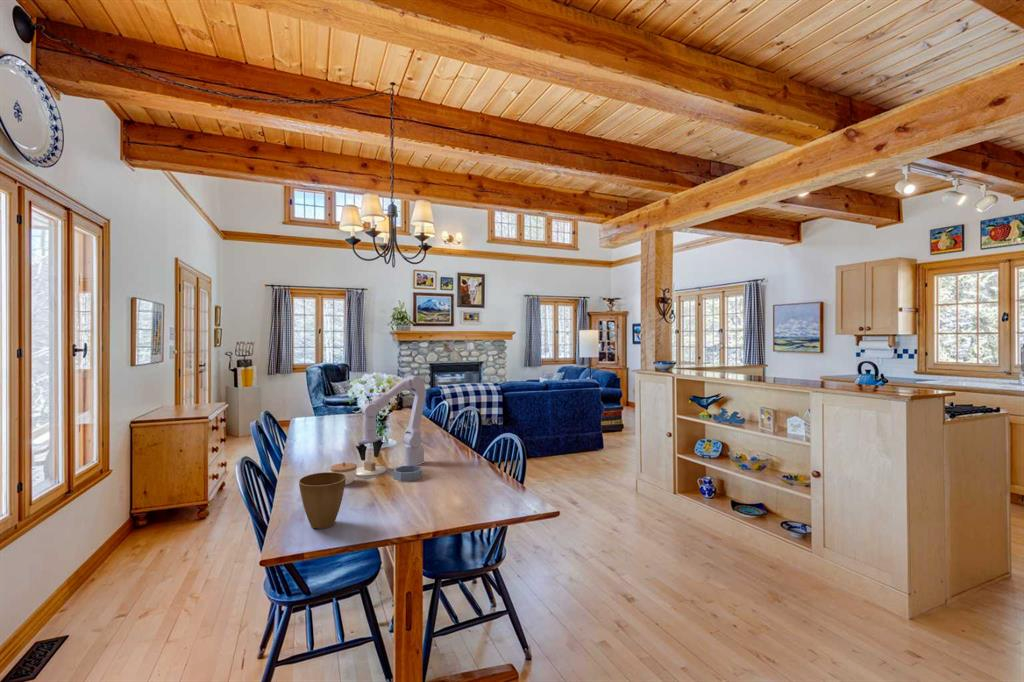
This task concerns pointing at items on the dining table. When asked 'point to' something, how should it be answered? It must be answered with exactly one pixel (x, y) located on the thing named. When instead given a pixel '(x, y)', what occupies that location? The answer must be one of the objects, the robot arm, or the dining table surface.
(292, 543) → the dining table surface
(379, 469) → the cover
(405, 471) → the bowl
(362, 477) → the mat
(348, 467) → the lidded jar
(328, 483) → the plant pot
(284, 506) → the dining table surface
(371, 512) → the dining table surface
